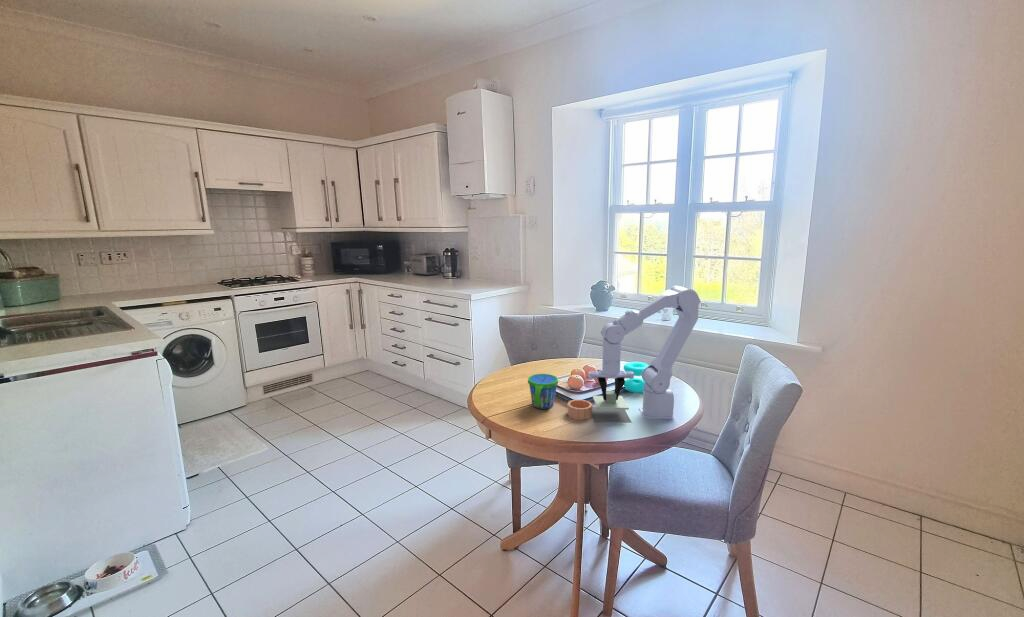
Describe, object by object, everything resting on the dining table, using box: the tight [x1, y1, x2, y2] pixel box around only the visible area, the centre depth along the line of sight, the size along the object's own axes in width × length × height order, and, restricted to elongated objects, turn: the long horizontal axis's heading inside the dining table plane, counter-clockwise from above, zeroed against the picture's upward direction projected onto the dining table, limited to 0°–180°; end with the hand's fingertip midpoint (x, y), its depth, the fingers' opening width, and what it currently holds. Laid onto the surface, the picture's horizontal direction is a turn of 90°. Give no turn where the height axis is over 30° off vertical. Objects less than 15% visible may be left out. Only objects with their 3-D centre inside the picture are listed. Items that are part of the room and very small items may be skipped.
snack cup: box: [527, 373, 559, 410], centre depth 153 cm, size 16×10×10 cm
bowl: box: [566, 399, 593, 421], centre depth 146 cm, size 8×8×4 cm
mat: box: [591, 406, 633, 423], centre depth 146 cm, size 12×12×1 cm
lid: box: [592, 390, 630, 411], centre depth 145 cm, size 10×10×4 cm
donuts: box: [623, 361, 649, 394], centre depth 168 cm, size 10×10×10 cm
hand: (610, 398), depth 145 cm, fingers closed on lid, 3 cm apart
